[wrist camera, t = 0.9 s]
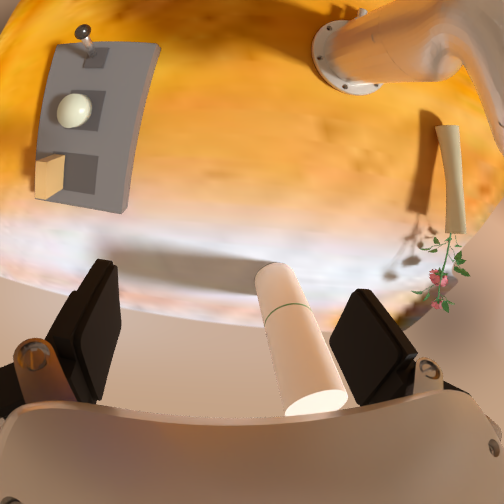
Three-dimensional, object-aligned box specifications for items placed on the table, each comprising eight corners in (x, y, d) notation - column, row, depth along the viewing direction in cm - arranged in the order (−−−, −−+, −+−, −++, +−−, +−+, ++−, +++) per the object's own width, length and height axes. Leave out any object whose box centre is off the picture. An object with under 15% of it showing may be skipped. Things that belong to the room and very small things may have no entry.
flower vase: (425, 130, 44) (433, 284, 54) (393, 129, 40) (404, 304, 50) (472, 127, 33) (472, 298, 43) (447, 122, 29) (448, 324, 39)
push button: (67, 93, 24) (60, 93, 22) (95, 94, 25) (88, 94, 23) (62, 125, 26) (54, 127, 24) (88, 127, 27) (81, 129, 25)
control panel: (66, 47, 24) (55, 44, 21) (161, 48, 27) (155, 42, 24) (44, 193, 34) (33, 199, 31) (127, 207, 38) (120, 215, 35)
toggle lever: (90, 49, 22) (77, 21, 16) (102, 49, 23) (91, 20, 17) (83, 60, 22) (69, 33, 16) (96, 60, 23) (83, 32, 17)
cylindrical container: (258, 300, 49) (287, 426, 27) (251, 267, 45) (282, 401, 24) (296, 291, 49) (344, 411, 27) (293, 258, 46) (351, 382, 24)
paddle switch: (54, 153, 29) (35, 161, 24) (65, 154, 29) (46, 162, 25) (52, 187, 31) (35, 197, 27) (62, 188, 31) (45, 199, 27)
